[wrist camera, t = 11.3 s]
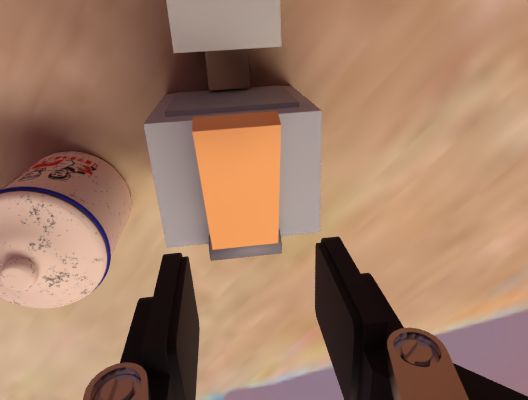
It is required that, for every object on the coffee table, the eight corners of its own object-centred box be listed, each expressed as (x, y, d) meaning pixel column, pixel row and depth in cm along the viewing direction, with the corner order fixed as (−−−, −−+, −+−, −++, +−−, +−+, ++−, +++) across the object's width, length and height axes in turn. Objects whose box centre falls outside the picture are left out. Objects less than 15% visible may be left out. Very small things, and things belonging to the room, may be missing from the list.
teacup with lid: (105, 132, 31) (46, 188, 20) (151, 225, 34) (122, 313, 24) (-34, 177, 31) (-163, 256, 20) (28, 264, 35) (-54, 368, 24)
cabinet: (291, 81, 30) (321, 105, 21) (292, 177, 34) (320, 232, 25) (165, 90, 30) (142, 118, 21) (180, 187, 33) (166, 247, 24)
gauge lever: (280, 108, 18) (286, 126, 17) (277, 239, 25) (281, 258, 24) (188, 115, 18) (187, 134, 17) (211, 245, 25) (211, 265, 24)
